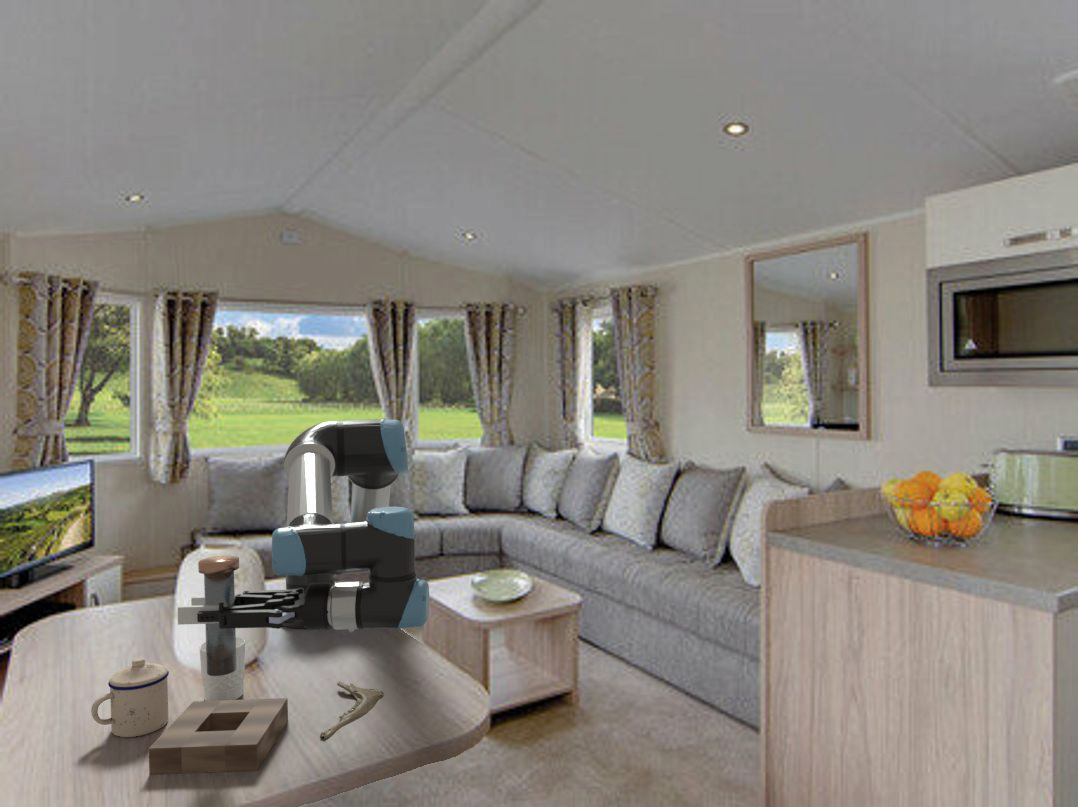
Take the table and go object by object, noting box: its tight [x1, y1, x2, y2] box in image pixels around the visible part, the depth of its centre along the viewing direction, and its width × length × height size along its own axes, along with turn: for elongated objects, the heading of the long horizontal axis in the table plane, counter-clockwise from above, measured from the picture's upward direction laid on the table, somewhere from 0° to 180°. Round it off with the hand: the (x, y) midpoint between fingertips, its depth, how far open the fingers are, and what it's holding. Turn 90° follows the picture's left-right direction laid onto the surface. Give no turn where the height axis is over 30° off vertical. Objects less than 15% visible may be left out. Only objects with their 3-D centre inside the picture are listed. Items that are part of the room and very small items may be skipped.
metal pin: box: [197, 555, 240, 676], centre depth 116 cm, size 6×6×18 cm
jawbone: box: [319, 681, 384, 741], centre depth 129 cm, size 9×20×2 cm, turn 8°
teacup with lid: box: [90, 657, 170, 738], centre depth 123 cm, size 12×9×12 cm
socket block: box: [148, 697, 289, 775], centre depth 117 cm, size 16×16×4 cm
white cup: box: [199, 636, 246, 701], centre depth 136 cm, size 8×8×10 cm
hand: (186, 610), depth 116 cm, fingers closed on metal pin, 4 cm apart
